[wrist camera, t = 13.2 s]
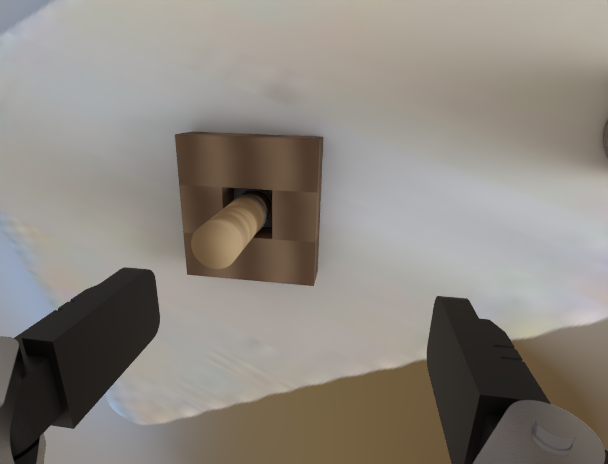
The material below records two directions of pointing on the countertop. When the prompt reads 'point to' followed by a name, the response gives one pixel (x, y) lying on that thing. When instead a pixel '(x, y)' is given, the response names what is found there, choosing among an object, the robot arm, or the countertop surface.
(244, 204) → the oak peg
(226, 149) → the walnut board
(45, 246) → the countertop surface
